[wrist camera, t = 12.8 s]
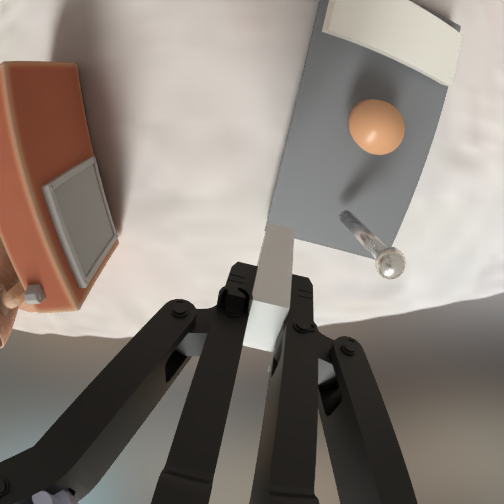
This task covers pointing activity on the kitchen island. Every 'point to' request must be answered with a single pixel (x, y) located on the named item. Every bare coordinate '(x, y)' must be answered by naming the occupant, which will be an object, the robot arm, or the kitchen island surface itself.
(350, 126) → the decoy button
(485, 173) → the kitchen island surface
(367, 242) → the toggle lever
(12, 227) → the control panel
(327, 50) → the switch panel
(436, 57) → the rocker switch
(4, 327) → the ceramic jug
